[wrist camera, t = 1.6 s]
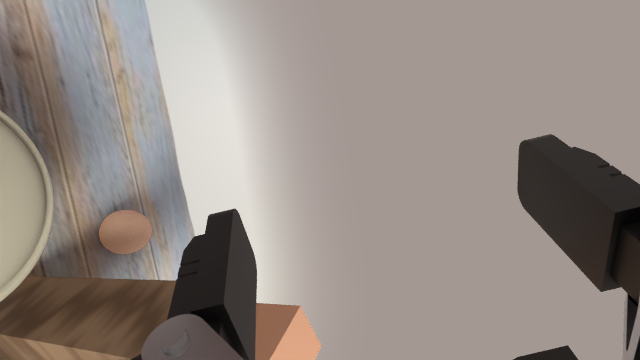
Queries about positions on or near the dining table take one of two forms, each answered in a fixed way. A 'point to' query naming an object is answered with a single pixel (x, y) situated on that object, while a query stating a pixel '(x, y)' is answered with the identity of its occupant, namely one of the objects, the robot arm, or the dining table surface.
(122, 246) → the egg
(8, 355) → the walnut stand
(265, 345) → the peach rectangular bar
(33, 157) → the canister
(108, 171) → the dining table surface
